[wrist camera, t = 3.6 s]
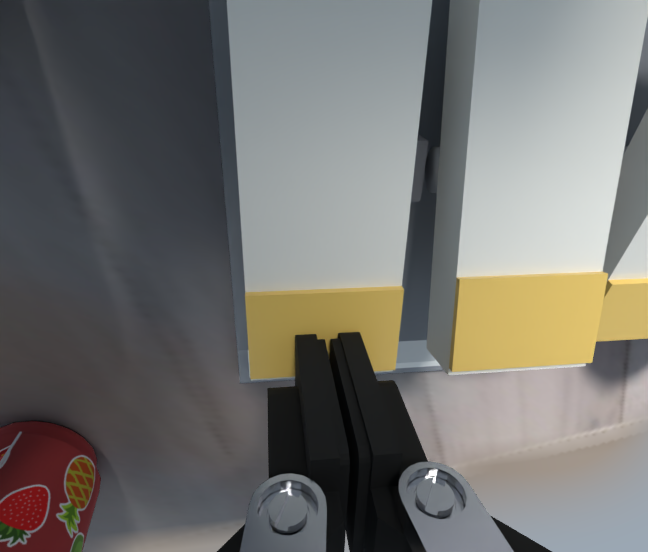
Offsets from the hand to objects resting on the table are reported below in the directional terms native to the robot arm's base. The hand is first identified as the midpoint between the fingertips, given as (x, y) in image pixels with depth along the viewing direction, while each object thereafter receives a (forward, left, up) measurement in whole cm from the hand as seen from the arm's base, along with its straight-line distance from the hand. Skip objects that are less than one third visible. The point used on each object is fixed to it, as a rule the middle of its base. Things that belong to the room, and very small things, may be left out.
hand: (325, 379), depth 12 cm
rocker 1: (-5, 0, -2) cm, 5 cm away
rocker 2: (-5, +5, -2) cm, 7 cm away
